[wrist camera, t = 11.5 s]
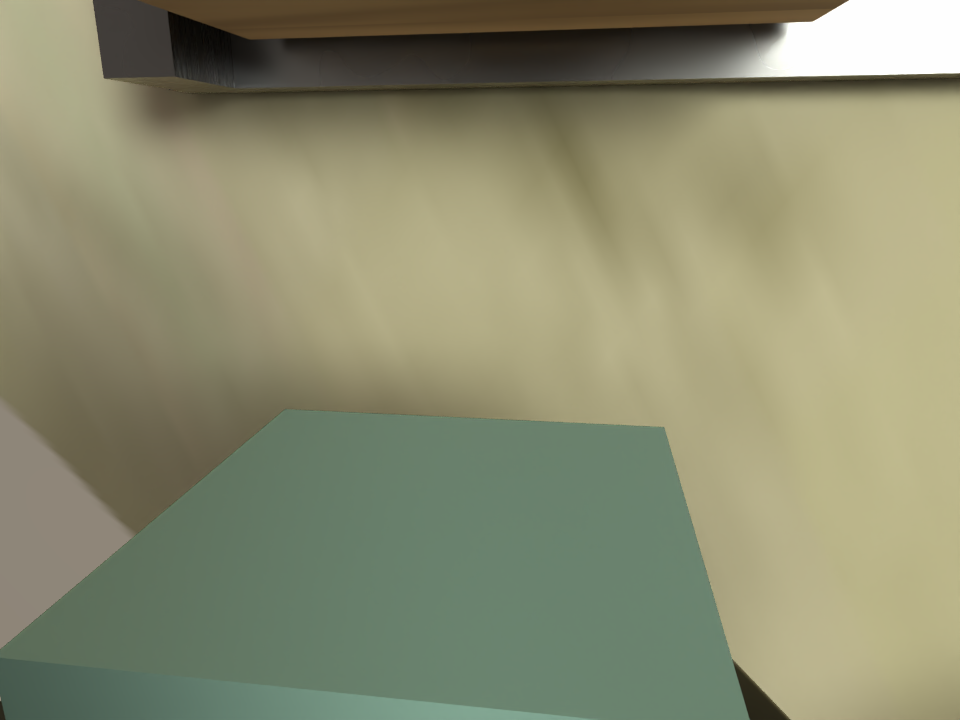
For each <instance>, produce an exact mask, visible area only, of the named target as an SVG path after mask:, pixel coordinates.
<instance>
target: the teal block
mask: <svg viewBox="0 0 960 720" xmlns="http://www.w3.org/2000/svg"><path fill="white" fill-rule="evenodd" d="M0 697H1V702H2V706H3V710H4V715H5V719H6V720H750V719H749V716H748V712H747V709H746V705H745V702H744V698H743V695H742V692H741V688H740V685H739V681H738V678H737V675H736V671H735V668H734V664H733V661H732V657H731V654H730V651H729V647H728V644H727V640H726V637H725V634H724V630H723V627H722V623H721V620H720V616H719V613H718V610H717V606H716V603H715V599H714V596H713V593H712V589H711V586H710V582H709V579H708V575H707V572H706V569H705V565H704V562H703V558H702V555H701V552H700V548H699V545H698V541H697V538H696V534H695V531H694V528H693V524H692V521H691V517H690V514H689V511H688V507H687V504H686V500H685V497H684V493H683V490H682V487H681V483H680V480H679V476H678V473H677V470H676V466H675V463H674V459H673V456H672V452H671V449H670V446H669V442H668V439H667V435H666V432H665V429H664V427H650V426H629V425H607V424H586V423H565V422H544V421H523V420H502V419H481V418H460V417H439V416H418V415H397V414H376V413H355V412H334V411H313V410H292V409H285V410H284V411H282V412H281V413H280V414H279V415H278V416H276V417H275V418H274V419H273V420H272V421H270V422H269V423H268V424H267V425H266V426H265V427H263V428H262V429H261V430H260V431H259V432H257V433H256V434H255V435H254V436H253V437H252V438H250V439H249V440H248V441H247V442H246V443H244V444H243V445H242V446H241V447H240V448H238V449H237V450H236V451H235V452H234V453H233V454H231V455H230V456H229V457H228V458H227V459H225V460H224V461H223V462H222V463H221V464H219V465H218V466H217V467H216V468H215V469H214V470H212V471H211V472H210V473H209V474H208V475H206V476H205V477H204V478H203V479H202V480H201V481H199V482H198V483H197V484H196V485H195V486H193V487H192V488H191V489H190V490H189V491H187V492H186V493H185V494H184V495H183V496H182V497H180V498H179V499H178V500H177V501H176V502H174V503H173V504H172V505H171V506H170V507H169V508H167V509H166V510H165V511H164V512H163V513H161V514H160V515H159V516H158V517H157V518H155V519H154V520H153V521H152V522H151V523H150V524H148V525H147V526H146V527H145V528H144V529H142V530H141V531H140V532H139V533H138V534H136V535H135V536H134V537H133V538H132V539H131V540H129V541H128V542H127V543H126V544H125V545H123V546H122V547H121V548H120V549H119V550H118V551H116V552H115V553H114V554H113V555H112V556H110V557H109V558H108V559H107V560H106V561H104V562H103V563H102V564H101V565H100V566H99V567H97V568H96V569H95V570H94V571H93V572H91V573H90V574H89V575H88V576H87V577H86V578H84V579H83V580H82V581H81V582H80V583H78V584H77V585H76V586H75V587H74V588H72V589H71V590H70V591H69V592H68V593H67V594H65V595H64V596H63V597H62V598H61V599H59V600H58V601H57V602H56V603H55V604H54V605H52V606H51V607H50V608H49V609H48V610H46V611H45V612H44V613H43V614H42V615H40V616H39V617H38V618H37V619H36V620H35V621H33V622H32V623H31V624H30V625H29V626H28V627H26V628H25V629H24V630H23V631H21V632H20V633H19V634H18V635H17V636H16V637H14V638H13V639H12V640H11V641H10V642H8V643H7V644H6V645H5V646H4V647H3V648H1V649H0Z"/></svg>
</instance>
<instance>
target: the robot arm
mask: <svg viewBox="0 0 960 720" xmlns="http://www.w3.org/2000/svg"><path fill="white" fill-rule="evenodd" d="M732 661H733V664H734V668H735V671H736V675H737V678H738V681H739V685H740V688H741V692H742V695H743V698H744V702H745V705H746V709H747V712H748V716H749V719H750V720H790V719H789V718H788V717H787V715H786V714H785V713H784V712H783V711H782V710H781V709H780V708H779V707H778V706H777V705H776V704H775V703H774V702H773V701H772V700H771V699H770V698H769V697H768V696H767V695H766V694H765V693H764V692H763V691H762V689H761V688H760V687H759V686H758V685H757V684H756V683H755V682H754V681H753V680H752V679H751V678H750V677H749V676H748V675H747V674H746V673H745V672H744V671H743V670H742V669H741V668H740V667H739V666H738V665H737V664H736V662H735V661H734V660H733V659H732ZM0 720H6V719H5V715H4V710H3V706H2V702H1V701H0Z"/></svg>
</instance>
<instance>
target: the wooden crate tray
mask: <svg viewBox="0 0 960 720" xmlns="http://www.w3.org/2000/svg"><path fill="white" fill-rule="evenodd" d="M138 1H141V2H144V3H147V4H150V5H152V6H155V7H158V8H161V9H164V10H167V11H170V12H172V13H175V14H178V15H181V16H184V17H187V18H190V19H192V20H195V21H198V22H201V23H204V24H207V25H210V26H213V27H215V28H218V29H221V30H224V31H227V32H230V33H233V34H235V35H238V36H241V37H244V38H247V39H250V40H252V39H283V38H315V37H347V36H379V35H411V34H443V33H474V32H506V31H538V30H570V29H602V28H634V27H666V26H697V25H729V24H761V23H793V22H814V21H815V20H817V19H819V18H820V17H822V16H824V15H825V14H827V13H829V12H830V11H832V10H834V9H836V8H837V7H839V6H841V5H842V4H844V3H846V2H847V1H849V0H138Z"/></svg>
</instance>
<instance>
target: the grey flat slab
mask: <svg viewBox="0 0 960 720" xmlns="http://www.w3.org/2000/svg"><path fill="white" fill-rule="evenodd" d="M93 4H94V11H95V18H96V25H97V32H98V40H99V47H100V54H101V61H102V68H103V75H104V78H105V79H111V80H117V81H123V82H129V83H135V84H142V85H148V86H154V87H160V88H166V89H169V90H173V91H179V92H185V93H191V94H194V93H243V92H292V91H340V90H389V89H437V88H486V87H535V86H583V85H632V84H680V83H729V82H778V81H826V80H875V79H924V78H960V0H849V1H847V2H846V3H844V4H842V5H841V6H839V7H837V8H836V9H834V10H832V11H830V12H829V13H827V14H825V15H824V16H822V17H820V18H819V19H817V20H815V21H814V22H793V23H761V24H729V25H697V26H666V27H634V28H602V29H570V30H538V31H506V32H474V33H443V34H411V35H379V36H347V37H315V38H283V39H252V40H250V39H247V38H244V37H241V36H238V35H235V34H233V33H230V32H227V31H224V30H221V29H218V28H215V27H213V26H210V25H207V24H204V23H201V22H198V21H195V20H192V19H190V18H187V17H184V16H181V15H178V14H175V13H172V12H170V11H167V10H164V9H161V8H158V7H155V6H152V5H150V4H147V3H144V2H141V1H138V0H93Z"/></svg>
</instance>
